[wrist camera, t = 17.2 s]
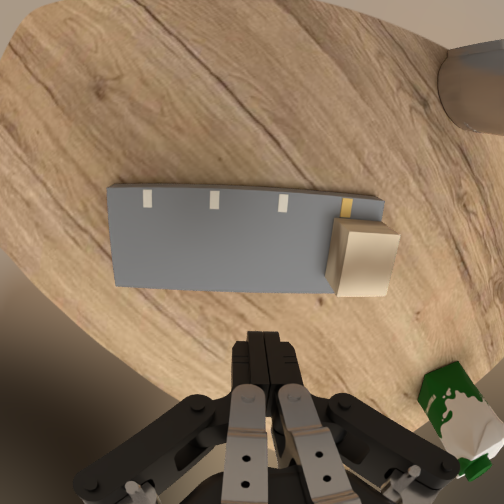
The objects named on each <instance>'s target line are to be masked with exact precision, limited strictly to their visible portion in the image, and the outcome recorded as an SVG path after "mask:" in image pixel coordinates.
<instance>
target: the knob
mask: <svg viewBox="0 0 504 504" xmlns="http://www.w3.org/2000/svg"><path fill="white" fill-rule="evenodd" d="M400 236H401V235H400V234H398V233H397V232H396V231H394V230H393V229H391V228H390V227H388V226H387V225H386V224H384V223H383V222H381V221H370V220H357V219H344V218H334V223H333V229H332V236H331V242H330V249H329V255H328V261H327V267H326V272H325V278H326V280H327V281H328V283H329V285H330V286H331V288H332V290H333V291H334V293H335V295H336V296H337V297H372V296H386V293H387V289H388V286H389V282H390V278H391V274H392V270H393V266H394V262H395V258H396V254H397V249H398V245H399V240H400Z"/></svg>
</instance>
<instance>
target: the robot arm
mask: <svg viewBox="0 0 504 504" xmlns="http://www.w3.org/2000/svg"><path fill="white" fill-rule="evenodd" d="M438 89H439V95H440V98H441V102H442V104H443V107H444V109H445V111H446V113H447V114H448V116H449V117H450V119H451V120H452V121H453V122H454V123H455V124H456V125H457V126H458V127H460V128H462V129H464V130H467V131H473V132H478V133H488V134H494V135H500V136H504V39H501V40H495V41H489V42H484V43H478V44H473V45H469V46H464V47H460V48H455V49H450V50H448V57H447V59H446V60H445V62H444V63H443V64H442V66H441V68H440V71H439V76H438ZM265 417H271V418H272V425H271V434H272V438H273V443H274V447H275V452H276V456H277V461H278V469H277V468H271V467H268V457H267V456H268V454H267V453H268V450H267V432H266V429H265ZM223 443H227V444H226V455H225V465H224V472H220V473H217V474H215V475H212V476H210V477H209V478H207V479H206V480H204V481H203V482H202V483H201V484H199V485H198V486H197V487H196V488H195V489H194V490H193V491H192V492H191V493H190V494H189V495H188V496H187V497H186V498H185V499H184V500H183V501H182V502H180V503H179V504H432V503H433V501H434V500H435V498H436V496H437V495H438V493H439V491H440V490H442V489H443V488H444V487H445V486H446V485H447V484H448V483H450V482H451V481H452V480H453V479H454V478H455V477H456V476H457V475H458V474H459V471H460V463H459V461H458V459H457V458H456V457H455V456H453V455H452V454H450V453H448V452H446V451H444V450H442V449H441V448H439V447H437V446H435V445H433V444H432V443H430V442H428V441H427V440H425V439H423V438H421V437H420V436H418V435H416V434H414V433H413V432H411V431H409V430H408V429H406V428H404V427H403V426H401V425H399V424H398V423H396V422H394V421H393V420H391V419H389V418H388V417H386V416H384V415H383V414H381V413H379V412H378V411H376V410H375V409H373V408H371V407H370V406H368V405H367V404H365V403H363V402H362V401H360V400H359V399H357V398H356V397H354V396H352V395H350V394H347V393H338V394H335V395H333V396H332V397H331V398H330V399H326V398H320V397H316V396H314V395H312V394H310V392H309V391H308V389H307V388H305V387H304V385H303V381H302V377H301V373H300V369H299V365H298V361H297V358H296V353H295V349H294V348H293V346H292V345H291V344H290V343H289V342H280V337H279V333H278V332H266V331H263V332H262V331H247V340H246V341H236V343H235V345H234V346H233V348H232V367H231V392H230V393H229V394H228V395H227V396H225V397H223V398H220V399H216V400H211V399H210V398H209V397H207V396H205V395H200V394H195V395H190V396H188V397H186V398H185V399H183V400H182V401H181V402H179V403H178V404H177V405H175V406H174V407H173V408H172V409H170V410H169V411H167V412H166V413H165V414H163V415H162V416H161V417H159V418H158V419H156V420H155V421H154V422H152V423H151V424H149V425H148V426H147V427H145V428H144V429H142V430H141V431H140V432H138V433H137V434H135V435H134V436H133V437H131V438H130V439H128V440H127V441H125V442H124V443H122V444H121V445H119V446H118V447H117V448H115V449H114V450H112V451H111V452H109V453H108V454H106V455H104V456H103V457H102V458H100V459H98V460H97V461H95V462H94V463H92V464H91V465H89V466H88V467H86V468H84V469H83V470H81V471H80V472H78V473H77V474H76V476H75V477H74V479H73V488H74V491H75V492H76V494H77V495H78V496H79V497H80V498H81V499H82V500H83V502H84V503H85V504H161V501H160V499H159V498H158V495H160V494H161V493H162V492H163V491H165V490H166V489H167V488H168V487H169V486H171V485H172V484H173V483H174V482H176V481H177V480H178V479H179V478H180V477H182V476H183V475H184V474H185V473H186V472H187V471H188V470H190V469H191V468H192V467H193V466H194V465H196V464H197V463H198V462H199V461H200V460H201V459H202V458H203V457H204V456H206V455H207V454H208V453H209V452H210V451H211V450H212V449H213V448H214V447H215V445H219V444H223ZM343 464H345V465H346V466H347V467H349V468H350V469H352V470H353V471H355V472H356V473H358V474H359V475H361V476H362V477H364V478H365V479H367V480H369V481H370V482H372V483H373V484H375V485H376V486H378V487H379V488H381V490H380V491H381V493H380V492H378V491H377V490H375V489H374V488H373V487H371V486H370V485H368V484H367V483H365V482H364V481H363V480H361V479H360V478H358V477H357V476H356V475H354V474H353V473H351V472H350V471H348V470H345V469H344V466H343Z"/></svg>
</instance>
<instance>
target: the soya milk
mask: <svg viewBox="0 0 504 504" xmlns="http://www.w3.org/2000/svg"><path fill="white" fill-rule="evenodd" d="M418 402H419V404H420V405H421V407H422V408H423V410H424V412H425V413H426V415H427V416H428V418H429V420H430V422H431V423H432V425H433V427H434V429H435V430H436V432H437V434H438V436H439V438H440V440H441V441H442V443H443V445H444V447H445V449H446V451H447V452H448V453H450V454H452V455H453V456H455V457H456V458H457V459H458V461H459V463H460V471H459V474H458V475H457V476H456V478H460V477H462V476H464V475H465V476H466V478H467V479H468V481H469V482H470V481H473V480H475V479H476V478H478V477H479V476H481V475H482V474H483V473H485V472H486V471H487V470H488V469H489V468H490V467H491V466H492V463H491V461H490V459H491V458H493V457H494V456H495V455H496V454H497V453H498V451H499V450H500V449H501V448H502V446H503V445H504V422H502V421H501V420H500V419H499V418H498V417H497V415H496V414H495V412H494V411H493V410H492V408H491V407H490V405H489V404H488V403H487V401H486V400H485V399H484V397H483V396H482V395H481V393H480V392H479V391H478V389H477V388H476V387H475V385H474V384H473V382H472V381H471V379H470V378H469V376H468V375H467V373H466V372H465V370H464V369H463V367H462V366H461V364H460V363H459V361H456V362H454V363H452V364H450V365H447V366H445V367H442V368H440V369H438V370H435V371H433V372H430V373H428V374H425V376H424V380H423V384H422V387H421V391H420V394H419V397H418Z"/></svg>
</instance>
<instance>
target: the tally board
mask: <svg viewBox="0 0 504 504" xmlns="http://www.w3.org/2000/svg"><path fill="white" fill-rule="evenodd" d="M384 203H385V201H383V200H382V199H380V198H378V197H375V196H366V195H357V194H347V193H337V192H326V191H315V190H302V189H289V188H274V187H257V186H237V185H210V184H113V185H111V186H109V187H107V205H108V220H109V233H110V243H111V253H112V262H113V270H114V278H115V285H116V286H120V287H135V288H152V289H172V290H193V291H220V292H254V293H334V291H333V290H332V288H331V286H330V285H329V283H328V281H327V280H326V278H325V272H326V267H327V261H328V255H329V249H330V242H331V236H332V229H333V223H334V218H344V219H357V220H370V221H381V220H382V215H383V209H384Z"/></svg>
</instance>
